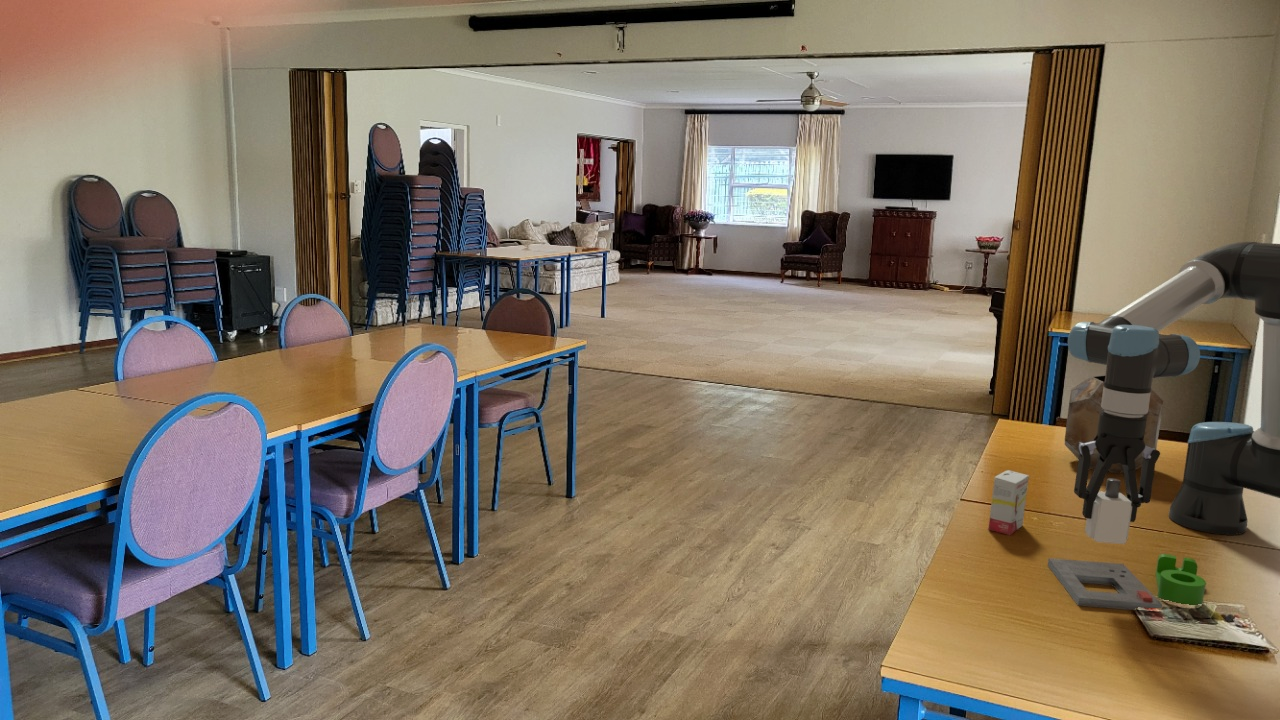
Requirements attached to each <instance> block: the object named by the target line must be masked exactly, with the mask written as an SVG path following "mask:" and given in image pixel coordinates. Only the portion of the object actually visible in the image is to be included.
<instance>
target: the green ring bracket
mask: <svg viewBox="0 0 1280 720" xmlns="http://www.w3.org/2000/svg"><path fill="white" fill-rule="evenodd" d="M1176 564H1177V556H1176V555H1171V554H1168V553H1167V554H1166V553H1161V554H1159V556H1158V557H1157V560H1156V569H1155V578H1156V585H1157V599H1159V598H1161V599H1164V600H1169V601H1172V602H1176V603H1181V604H1189V605H1198V604H1202V603H1203V604H1204V598H1205V596H1204V595H1205V590H1206V584H1207V582H1206V580H1205V579H1204V578H1202V577H1201V576H1199V575H1197V572H1198V563H1197V561H1196V560H1195V558H1194V559H1193V558H1190V557H1184V556H1183V560H1182V564H1181V567H1177V566H1176ZM1203 604H1202V605H1203Z"/></svg>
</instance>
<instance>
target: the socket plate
mask: <svg viewBox="0 0 1280 720" xmlns="http://www.w3.org/2000/svg"><path fill="white" fill-rule="evenodd" d="M1047 566H1048V568H1049V569H1050V570H1051V572H1052V573H1053V574H1054V576H1055V577H1056V578H1057V580H1058V581H1059V583H1060V584H1061V586H1062V587H1063V588H1064V589H1065V591H1067V593H1068V594H1069V596H1070V597H1071V598H1072V599H1073V601H1074V602H1075V603H1076V605H1077V606H1079V607H1091V608H1101V609H1102V608H1104V609H1115V610H1124V611H1126V610H1129V611H1135V610H1134V609H1135V608H1138V607H1146V608H1163V607H1162V606H1163V604H1162V603H1161V601H1159V600H1158V598H1156V596H1155V595H1153V593H1152V592H1151V591H1150V590H1149V589H1148V588H1147V587H1146V586H1145V585H1144V584H1143V583H1142V581H1140V580H1139V579H1138V577H1137V576H1136V575H1134V574H1133V572H1132V571H1131V570H1130V569H1129V568H1128V567H1127V565H1125V564H1124V563H1114V562H1102V561H1101V562H1099V561H1091V560H1090V561H1089V560H1077V559H1075V560H1074V559H1064V558H1049V557H1048V561H1047ZM1083 584H1088V585H1089V584H1090V585H1102V586H1112V587H1113V588H1114V590H1116V591H1117V592H1110V591H1109V592H1108V591H1097V590H1095V591H1094V590H1087V589H1086V587H1085V586H1084V585H1083Z"/></svg>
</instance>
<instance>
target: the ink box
mask: <svg viewBox="0 0 1280 720" xmlns="http://www.w3.org/2000/svg"><path fill="white" fill-rule="evenodd" d="M1029 477H1030V475H1029V474H1024V473H1021V472H1017V471H1013V470H1009V469H1006V470H1005V471H1003V472H1001V473H999V474H997V475H996V476H994V479H993V481H994V482H993V489H992V496H991V505H990V511H989V512H990V514H989V519H988V520H989V521H988V528H987V530H988V531H993V532H997V533H1001V534H1005V535H1007V536H1011V535H1012V534H1013V533H1015V532H1017V530H1019V529H1020V528H1021V527H1023V525H1024V517H1025V508H1026V501H1027V499H1026V498H1027V493H1028V485H1029V484H1028V483H1029Z"/></svg>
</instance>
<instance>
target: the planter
mask: <svg viewBox="0 0 1280 720" xmlns="http://www.w3.org/2000/svg"><path fill="white" fill-rule="evenodd" d="M1105 375H1106V374H1104V375H1103V374H1102V375H1095V376H1090V377H1088V378H1087V379H1085V380H1084V381H1082V382H1080V383H1079V384H1077V385H1075V386H1074V387H1072V388H1071V390H1070V394H1069V395H1070V396H1069V401H1068V409H1067V410H1068V411H1067V417H1066V426H1065V436H1064V445H1065V447H1066V448H1067V449H1068V450H1069V451H1070V452H1071V453H1072V454H1073V455H1074V456H1075V457H1076V459H1077V460H1078V461H1079V451H1078V446H1077V444H1078V443H1079V442H1083V443H1087V442H1092V441H1093V440H1094V438H1095V437H1096V435H1097V431H1098V422H1099V415H1100V412H1101V411H1102V410H1104V409H1103V408H1102V407H1101V402H1102V394H1103V387H1104V381H1105ZM1163 407H1164V400H1163V399H1162V398H1161V397H1160V395H1158V394H1157V393H1156V392H1155V391H1154V390H1153V389H1152V388H1151V394H1150V401H1149V409H1148V413H1147V414H1145V415H1144V416H1145V417H1146V418H1147V422H1146V428H1145V435H1144V443H1145V446H1148V447H1153V448H1155V449H1156V450H1157V447H1158V440H1159V435H1160V434H1159V433H1160V428H1161V422H1162V421H1161V420H1162V414H1163ZM1142 454H1143V451H1142V452H1141V453H1140V454H1139V455H1138V456H1137V457H1136V458H1135V466H1136V469H1135V471H1136V470H1138V469H1140V468H1142V462H1143V458H1144V457H1143V455H1142ZM1099 455H1100V454H1099V452H1098V451H1097V449H1096V448H1094V450H1093V454H1091V455H1090V456H1091V461H1090V468H1089V469H1090V470H1095V467H1096V465H1097V460H1098V457H1099ZM1108 471H1109V472H1108V473H1113V472H1114V473H1113V474H1124V472H1123V466H1122V464H1120V463H1116V464H1112V465H1111V468H1110V469H1109V470H1108Z"/></svg>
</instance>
